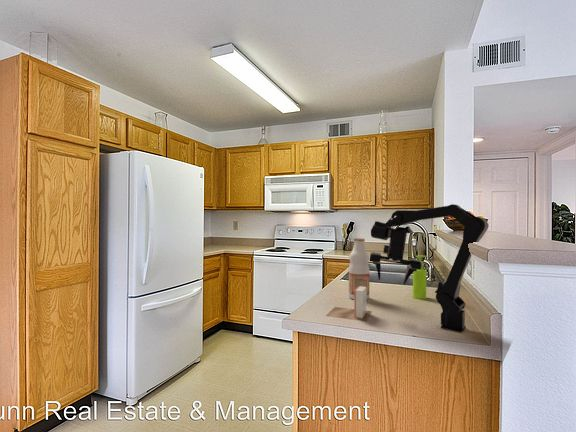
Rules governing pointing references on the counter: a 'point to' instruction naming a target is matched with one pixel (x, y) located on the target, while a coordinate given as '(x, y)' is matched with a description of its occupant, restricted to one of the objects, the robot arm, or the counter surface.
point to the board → (346, 313)
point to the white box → (359, 302)
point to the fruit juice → (358, 268)
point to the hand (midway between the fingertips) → (391, 282)
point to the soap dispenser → (419, 281)
